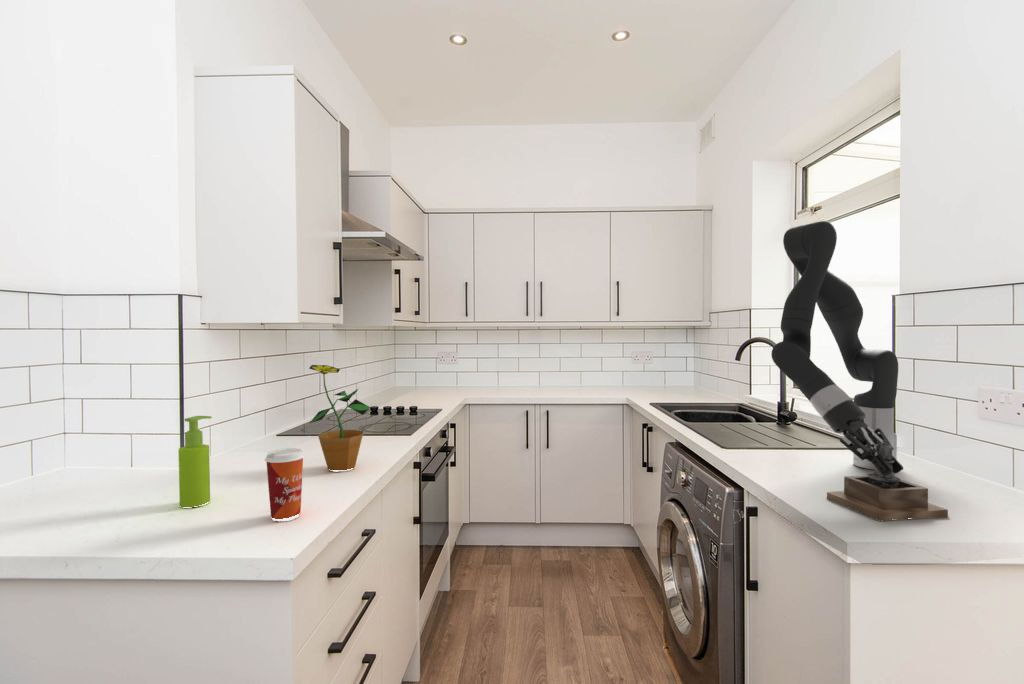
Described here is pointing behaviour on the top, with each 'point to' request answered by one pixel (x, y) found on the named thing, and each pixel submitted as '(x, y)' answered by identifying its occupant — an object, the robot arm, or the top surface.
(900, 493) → the stand
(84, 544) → the top surface
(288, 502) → the paper cup
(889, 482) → the salt shaker
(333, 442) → the potted plant
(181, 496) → the soap dispenser
